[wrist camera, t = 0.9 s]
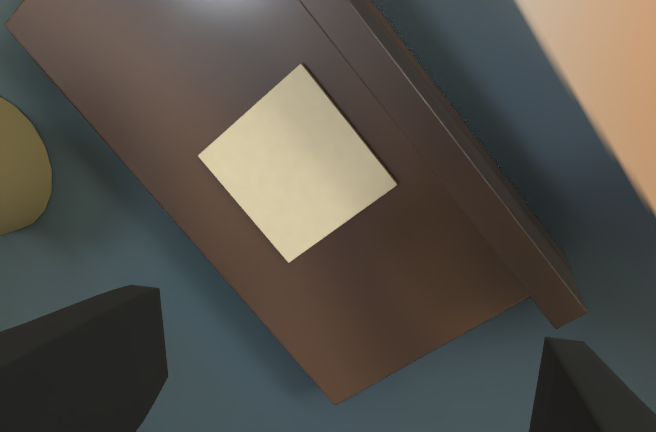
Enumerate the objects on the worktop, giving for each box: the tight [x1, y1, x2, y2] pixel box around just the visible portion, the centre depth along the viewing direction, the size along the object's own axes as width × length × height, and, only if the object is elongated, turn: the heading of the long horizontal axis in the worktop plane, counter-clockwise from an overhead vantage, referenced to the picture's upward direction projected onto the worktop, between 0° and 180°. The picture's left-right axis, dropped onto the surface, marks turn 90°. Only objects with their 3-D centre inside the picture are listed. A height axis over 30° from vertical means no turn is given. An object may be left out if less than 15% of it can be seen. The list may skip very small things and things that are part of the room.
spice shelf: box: [5, 0, 587, 405], centre depth 18 cm, size 10×18×4 cm, turn 40°
